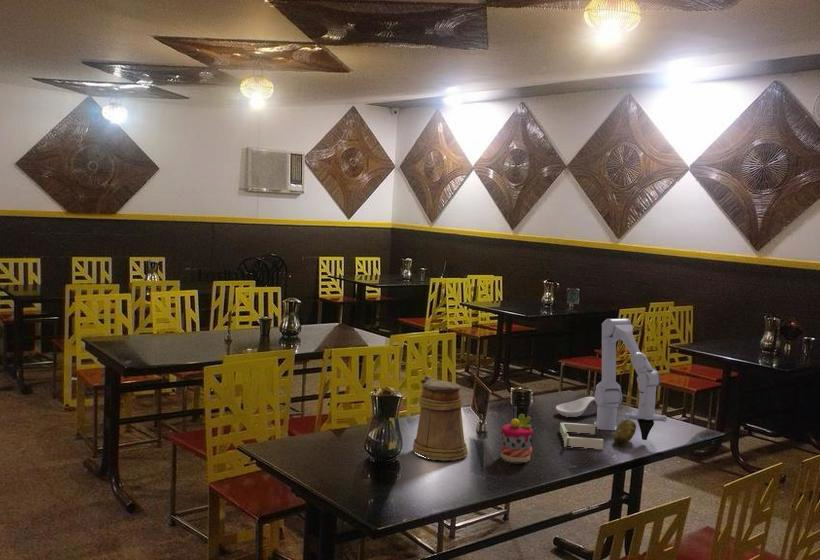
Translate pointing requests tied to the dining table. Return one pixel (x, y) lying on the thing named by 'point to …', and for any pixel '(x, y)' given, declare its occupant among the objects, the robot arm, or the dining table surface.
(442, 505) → the dining table surface
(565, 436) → the flag
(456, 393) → the tankard
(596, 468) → the dining table surface
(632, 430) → the potato
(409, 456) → the dining table surface
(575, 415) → the spoon rest
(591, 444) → the corral
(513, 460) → the cake
